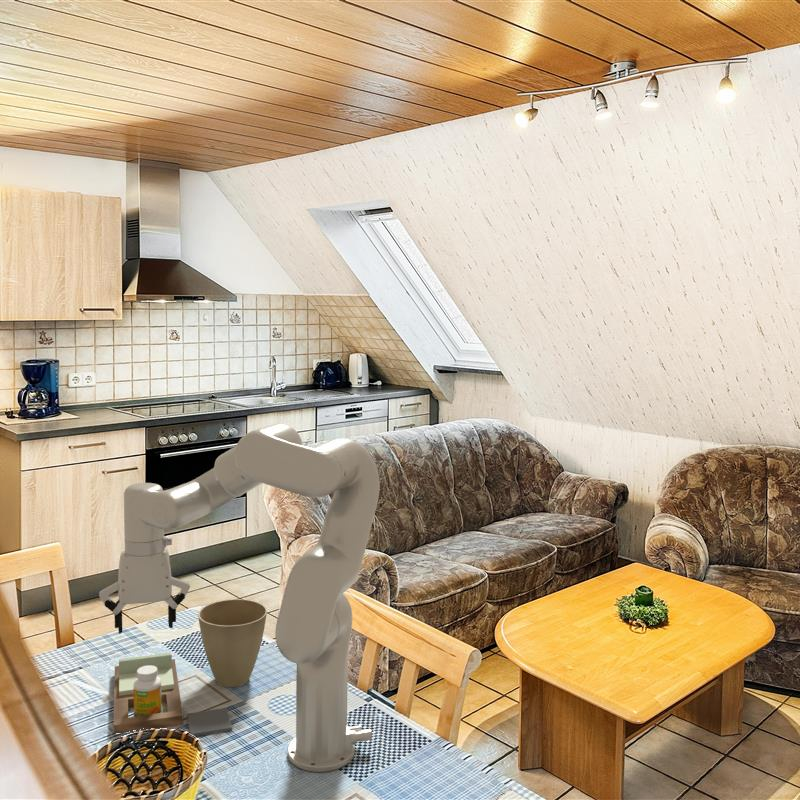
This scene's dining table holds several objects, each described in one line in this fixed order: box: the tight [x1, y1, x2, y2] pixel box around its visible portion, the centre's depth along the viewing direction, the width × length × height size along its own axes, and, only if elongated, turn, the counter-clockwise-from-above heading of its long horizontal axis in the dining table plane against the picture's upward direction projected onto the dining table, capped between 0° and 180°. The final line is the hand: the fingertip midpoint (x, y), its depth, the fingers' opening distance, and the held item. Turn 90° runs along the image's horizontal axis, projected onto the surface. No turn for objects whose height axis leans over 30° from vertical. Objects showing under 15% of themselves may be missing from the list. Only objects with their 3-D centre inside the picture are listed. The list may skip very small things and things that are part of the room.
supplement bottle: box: [133, 665, 163, 717], centre depth 161 cm, size 5×5×10 cm
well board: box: [113, 658, 184, 735], centre depth 168 cm, size 13×26×2 cm, turn 19°
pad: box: [186, 707, 233, 737], centre depth 159 cm, size 8×8×1 cm
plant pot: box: [197, 598, 268, 688], centre depth 176 cm, size 15×15×16 cm
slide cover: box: [118, 652, 174, 696], centre depth 171 cm, size 11×9×4 cm
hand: (145, 628), depth 160 cm, fingers open, 9 cm apart
